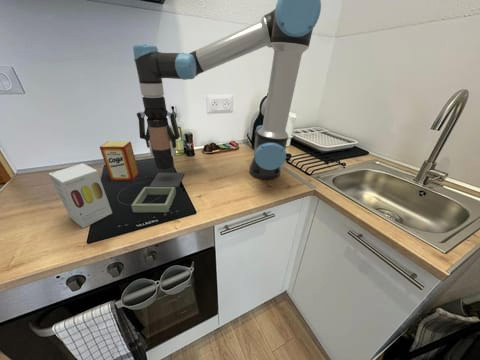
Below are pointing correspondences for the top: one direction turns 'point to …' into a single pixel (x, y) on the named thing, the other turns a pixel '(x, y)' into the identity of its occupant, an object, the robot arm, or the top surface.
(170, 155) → the travel mug
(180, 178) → the rubber mat
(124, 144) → the baking soda box
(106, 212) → the supplement box
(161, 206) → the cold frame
